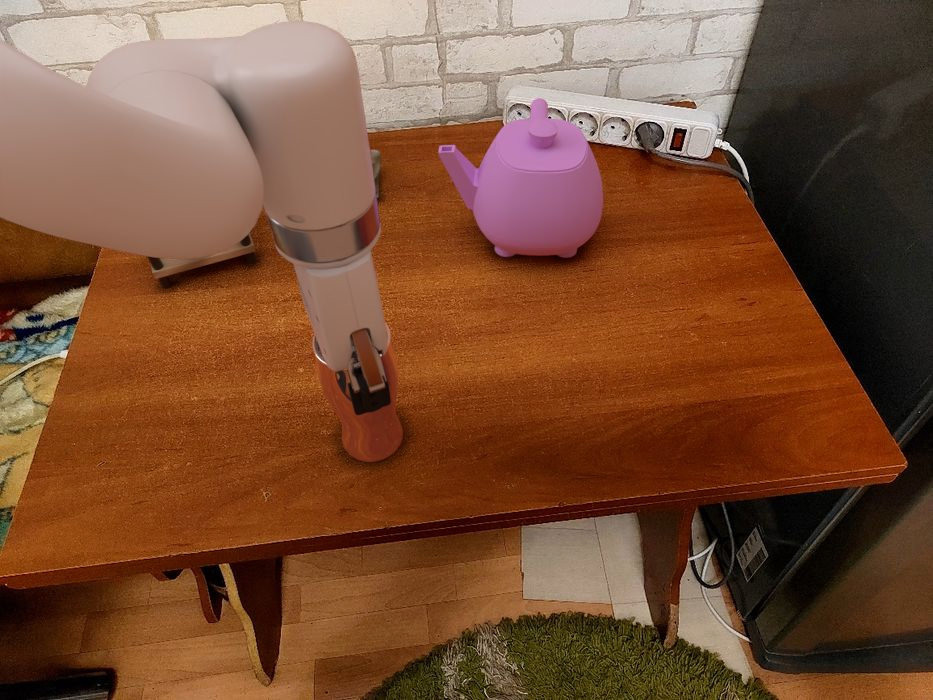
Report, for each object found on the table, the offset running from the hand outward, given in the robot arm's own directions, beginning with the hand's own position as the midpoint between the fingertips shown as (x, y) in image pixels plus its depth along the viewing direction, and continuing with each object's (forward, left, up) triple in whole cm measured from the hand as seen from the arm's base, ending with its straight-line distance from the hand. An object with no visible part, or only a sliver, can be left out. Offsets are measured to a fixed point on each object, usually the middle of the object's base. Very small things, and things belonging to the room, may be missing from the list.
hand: (359, 373), depth 61 cm
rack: (-11, +35, -10) cm, 38 cm away
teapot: (+28, +24, -10) cm, 38 cm away
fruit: (+10, +41, -10) cm, 43 cm away
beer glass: (0, 0, -10) cm, 10 cm away
